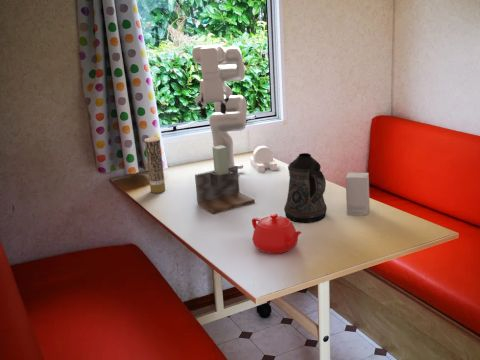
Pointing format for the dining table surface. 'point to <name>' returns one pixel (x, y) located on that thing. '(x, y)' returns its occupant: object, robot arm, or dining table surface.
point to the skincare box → (357, 193)
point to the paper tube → (155, 164)
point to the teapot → (274, 234)
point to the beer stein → (305, 191)
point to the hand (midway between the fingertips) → (213, 115)
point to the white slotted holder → (263, 159)
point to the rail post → (220, 160)
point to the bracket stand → (220, 191)
